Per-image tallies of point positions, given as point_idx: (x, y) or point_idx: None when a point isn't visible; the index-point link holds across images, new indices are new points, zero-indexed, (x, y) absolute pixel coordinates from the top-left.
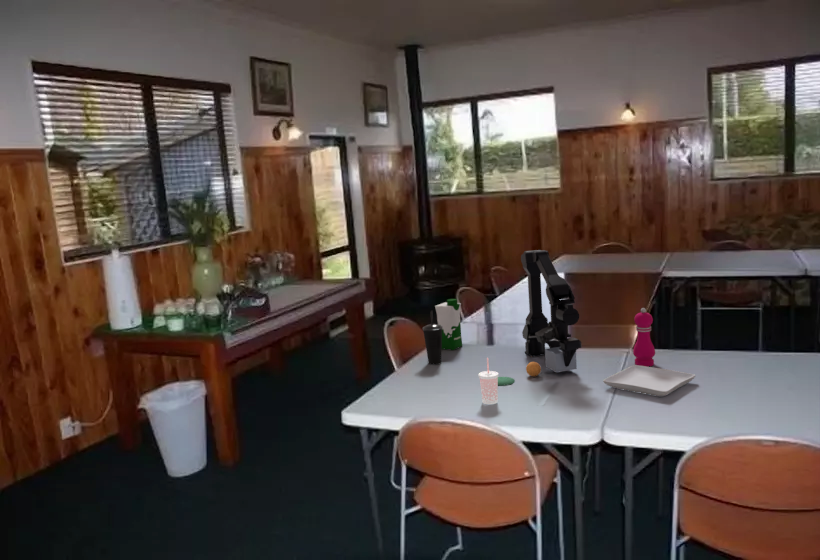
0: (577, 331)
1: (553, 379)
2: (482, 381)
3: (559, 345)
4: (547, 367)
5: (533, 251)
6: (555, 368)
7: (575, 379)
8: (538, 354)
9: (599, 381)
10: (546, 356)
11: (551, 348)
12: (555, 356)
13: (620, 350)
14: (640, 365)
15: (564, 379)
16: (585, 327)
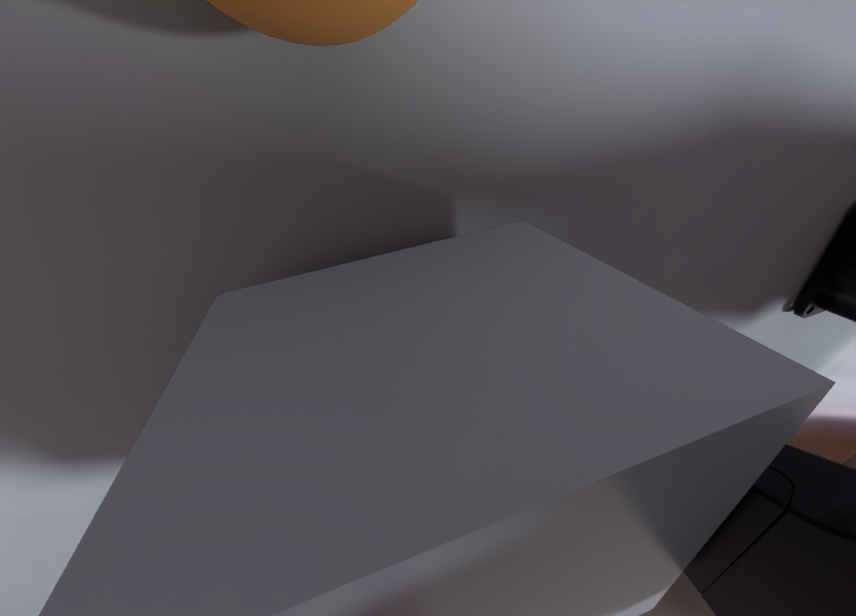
0: (841, 443)
1: (60, 198)
2: None
3: (710, 590)
4: (474, 232)
5: None
6: (223, 318)
7: (89, 432)
8: (838, 256)
9: (30, 574)
10: (593, 297)
11: (717, 505)
12: (60, 590)
13: None
14: None
15: (77, 336)
16: (838, 460)
